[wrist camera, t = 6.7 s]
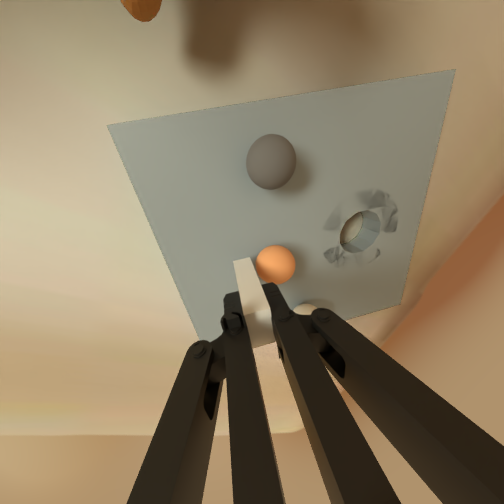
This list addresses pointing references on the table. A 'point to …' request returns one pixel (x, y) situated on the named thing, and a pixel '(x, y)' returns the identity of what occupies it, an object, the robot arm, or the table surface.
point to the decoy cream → (304, 309)
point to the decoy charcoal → (271, 161)
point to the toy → (142, 8)
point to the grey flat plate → (292, 192)
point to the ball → (275, 264)
